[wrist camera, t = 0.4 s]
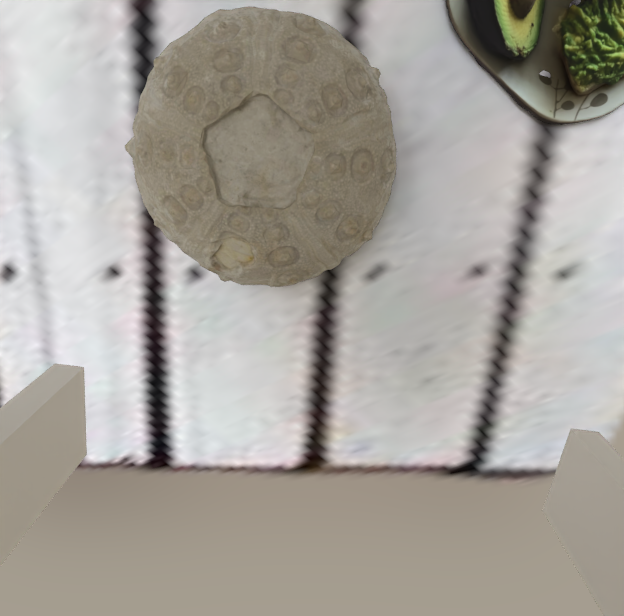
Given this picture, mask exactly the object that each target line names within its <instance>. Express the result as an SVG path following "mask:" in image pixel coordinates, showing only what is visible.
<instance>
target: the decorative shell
mask: <svg viewBox="0 0 624 616" xmlns="http://www.w3.org/2000/svg"><path fill="white" fill-rule="evenodd" d="M153 62H154V68H153V69H152V71H151V72H150V74H149V76H148V78H147V83H146V86H145V88H144V90H143V92H142V94H141V96H140V101H139V109H138V113H137V115H136V117H135V119H134V123H133V132H134V137H133V138H132V139H131V140H130V141H129V142H128V143H127V144H126V145H125V148H126V151H127V152H128V153H129V154H130V155H131V156H132V158H133V165H134V167H135V179H136V182H137V185H138V188H139V191H140V193H141V196H142V200H143V202H144V204H145V206H146V208H147V210H148V212H149V214H150V215H151V216H152V218H153V219H154V224H155V226H157V227H159V228H160V229H161V230H162V232H163V233H164V235H165V236H166V237H167V239H169V240H170V241H172V242H174V243H175V244H176V245H177V246H178V247H179V248H180V249H181V250H182V251H183V252H184V253H186V254H187V255H188V256H190V257H191V258H193V259H194V260H196V261H197V262H198V263H199V264H200V266H202V267H204V268H206V269H207V270H209V271H212V272H214V273H216V274H218V275H219V277H220V279H221V280H222V281H224V282H225V281H229V280H231V281H233V282H236V283H239V284H241V285H260V284H261V285H269V286H275V287H280V286H288V285H293V284H296V283H298V282H302V281H305V280H308V279H311V278H315V277H318V276H319V275H320V274H321V273H322V272H324V271H326V270H331V269H333V268H334V267H336V266H338V265H339V264H340V263H341V261H342V259H343V258H344V257H346V256H350V255H352V254H353V253H355V252H356V251H357V250H358V249H359V248H360V247H361V246H362V245H363V244H364V243H365V242H366V241H368V240H371V239H372V232H373V230H374V229H375V227H376V226H377V225H378V223H379V221H380V218H381V216H382V214H383V211H384V208H385V206H386V204H387V202H388V200H389V196H390V194H391V187H392V184H393V181H394V178H395V174H396V144H395V140H394V136H393V130H392V122H391V111H390V108H389V106H388V104H387V97H386V94H385V92H384V90H383V89H382V88H381V87H380V85H379V76H380V71H379V69H377V68H374V67H370V64H369V62H368V60H367V58H366V57H365V56H363V55H362V54H361V53H360V51H359V50H358V49H357V48H355V47H354V46H353V45H352V44H351V43H349V42H348V41H347V40H345V39H344V38H343V37H342V35H341V34H340V33H339V32H338V31H337V30H336V29H335V28H333V27H331V26H330V25H328V24H326V23H325V22H323V21H320V20H318V19H315V18H313V17H310V16H308V15H305V14H300V13H294V12H283V11H277V10H273V9H261V8H257V7H243V8H236V9H233V10H221V9H220V10H218V11H216V12H214V13H212V14H210V15H209V16H207V17H205V18H204V19H203V20H202V21H201V22H200V23H199V24H198V25H197V26H196V27H194V28H193V29H192V30H190V31H189V32H188V33H186V34H185V35H183V36H182V37H180V38H179V39H177V40H175V41H173V42H171V43H170V44H169V45H168V46H167V48H166V49H165V50H164V51H163V52H162V53H161V54H160V56H159V57H156V58H155V60H154V61H153Z"/></svg>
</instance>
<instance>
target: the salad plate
mask: <svg viewBox="0 0 624 616" xmlns="http://www.w3.org/2000/svg"><path fill="white" fill-rule="evenodd" d="M571 1H573V0H446V4H447V9H448V13H449V17H450V20H451V22H452V25H453V27H454V29H455V31H456V32H457V34H458V35H459V37H460V39H461V40H462V41H463V43H464V44H465V46H466V47H467V48H468V49H469V50H470V51H471V53H472V54H473V56H474V57H475V59H476V60H477V62H478V63H479V64H480V65H481V66H482V67H483V68H484V69H486V70H487V71H488V72H489V73H490V74H491V75H492V76H493V77H494V78H495V79H496V80H497V81H498V82H499V83H500V85H501V86H502V87H503V88H504V89H505V90H506V91H507V92H508V93H509V94H510V95H511V96H512V97H513V98H514V100H515V101H516V102H517V103H518V104H519V105H520V106H521V107H522V108H524V109H526V110H527V111H528V112H530V113H531V114H532V115H533V116H535V117H536V118H537V119H539V120H541V121H542V122H545V123H550V124H561V125H562V124H569V123H578V122H583V121H588V120H592V119H595V118H599V117H602V116H604V115H606V114H609V113H611V112H613V111H614V110H615V109H616V108H618V107H619V106H621V105H622V104H624V0H581V2H580V4H578V5H577V6H576V5H574V4H573V5H572V6H571V7H570V8H569V5H570V3H571ZM543 70H545V71H547V72H549V73H550V75H551V77H550V78H548V77H545V76H541V75H540V74H539V73H540V72H541V71H543Z"/></svg>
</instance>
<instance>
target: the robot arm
mask: <svg viewBox="0 0 624 616" xmlns="http://www.w3.org/2000/svg"><path fill="white" fill-rule="evenodd" d="M86 455H87V450H86V418H85V386H84V367H78V366H70V365H62V364H54V365H53V366H52V367H50V368H49V369H48V370H47V371H45V372H44V373H43V374H42V375H40V376H39V377H38V378H37V379H36V380H34V381H33V382H32V383H31V384H29V385H28V386H27V387H26V388H25V389H23V390H22V391H21V392H20V393H18V394H17V395H16V396H15V397H13V398H12V399H11V400H10V401H9V402H7V403H6V404H5V405H4V406H2V407H1V408H0V566H1V565H2V564H3V562H4V561H5V560H6V559H7V557H8V556H9V555H10V553H11V552H12V551H13V549H14V548H15V547H16V546H17V544H18V543H19V542H20V540H21V539H22V538H23V537H24V535H25V534H26V532H27V531H28V530H29V529H30V527H31V526H32V525H33V524H34V522H35V521H36V520H37V518H38V517H39V516H40V514H41V513H42V512H43V511H44V509H45V508H46V507H47V505H48V504H49V503H50V501H51V500H52V499H53V498H54V496H55V495H56V494H57V492H58V491H59V490H60V488H61V487H62V486H63V484H64V483H65V482H66V481H67V479H68V478H69V477H70V475H71V474H72V473H73V472H74V470H75V469H76V468H77V466H78V465H79V464H80V462H81V461H82V460H83V459H84V457H85V456H86ZM543 513H544V514H545V516H546V518H547V520H548V521H549V523H550V525H551V526H552V528H553V530H554V532H555V533H556V535H557V537H558V539H559V540H560V542H561V544H562V545H563V547H564V549H565V550H566V552H567V554H568V556H569V557H570V559H571V561H572V562H573V564H574V566H575V568H576V569H577V571H578V573H579V574H580V576H581V578H582V579H583V581H584V583H585V585H586V586H587V588H588V590H589V591H590V593H591V595H592V597H593V598H594V600H595V602H596V604H597V605H598V607H599V608H600V610H601V612H602V614H603V615H604V616H624V458H622V456H621V455H620V454H619V453H618V452H617V451H616V450H615V449H614V448H613V447H612V446H611V444H610V443H609V442H608V441H607V440H606V439H605V438H604V437H603V436H602V435H601V434H600V433H599V432H594V431H586V430H578V429H571V430H570V433H569V436H568V438H567V441H566V444H565V447H564V450H563V453H562V456H561V459H560V461H559V464H558V467H557V470H556V473H555V476H554V479H553V482H552V484H551V487H550V490H549V493H548V496H547V499H546V502H545V505H544V508H543Z"/></svg>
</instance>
